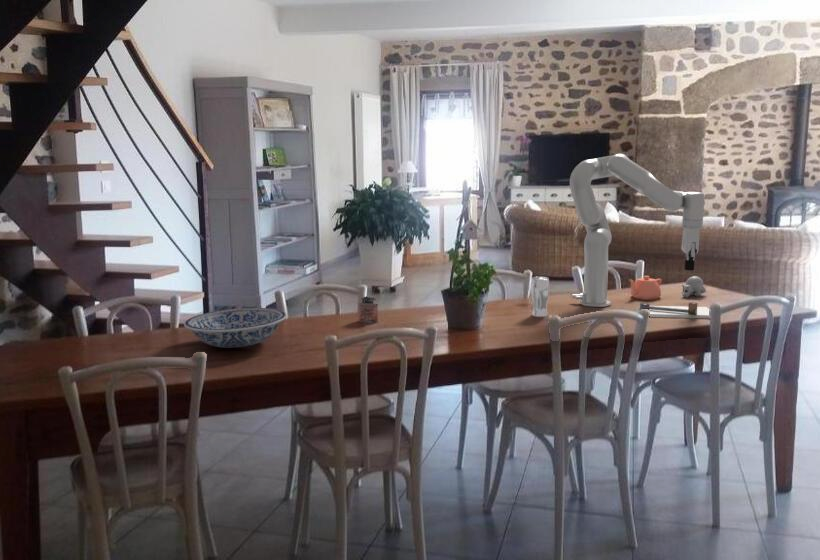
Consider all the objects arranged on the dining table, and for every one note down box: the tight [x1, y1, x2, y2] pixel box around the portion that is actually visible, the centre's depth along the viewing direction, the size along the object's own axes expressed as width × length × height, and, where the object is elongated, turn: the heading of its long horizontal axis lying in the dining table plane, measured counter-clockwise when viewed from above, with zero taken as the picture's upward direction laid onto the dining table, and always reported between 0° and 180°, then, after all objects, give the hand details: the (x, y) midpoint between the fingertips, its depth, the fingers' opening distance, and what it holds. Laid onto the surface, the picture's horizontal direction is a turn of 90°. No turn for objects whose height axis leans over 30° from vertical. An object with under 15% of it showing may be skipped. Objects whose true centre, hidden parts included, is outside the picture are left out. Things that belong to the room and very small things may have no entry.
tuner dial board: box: [638, 305, 710, 319], centre depth 296 cm, size 26×17×1 cm, turn 81°
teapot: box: [628, 275, 662, 301], centre depth 327 cm, size 12×18×10 cm
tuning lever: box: [639, 301, 699, 314], centre depth 294 cm, size 21×4×4 cm, turn 61°
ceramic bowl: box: [183, 307, 287, 349], centre depth 259 cm, size 34×34×10 cm
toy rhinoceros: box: [681, 275, 707, 299], centre depth 328 cm, size 7×12×8 cm, turn 119°
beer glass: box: [530, 276, 550, 318], centre depth 295 cm, size 7×7×15 cm
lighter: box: [358, 295, 379, 324], centre depth 290 cm, size 8×3×10 cm, turn 62°
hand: (689, 269), depth 299 cm, fingers closed
